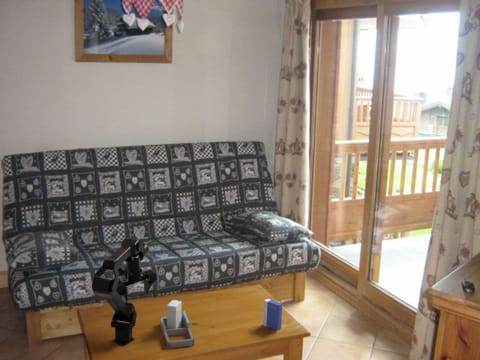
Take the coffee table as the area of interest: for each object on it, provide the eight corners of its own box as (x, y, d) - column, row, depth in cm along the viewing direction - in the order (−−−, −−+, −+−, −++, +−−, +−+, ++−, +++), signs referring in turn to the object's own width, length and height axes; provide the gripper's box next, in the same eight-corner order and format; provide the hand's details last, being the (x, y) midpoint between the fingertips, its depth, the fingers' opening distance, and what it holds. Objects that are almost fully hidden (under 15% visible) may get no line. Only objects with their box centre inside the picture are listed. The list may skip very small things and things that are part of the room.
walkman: (281, 328, 252) (282, 302, 249) (277, 330, 249) (279, 304, 247) (265, 322, 256) (267, 297, 253) (262, 325, 254) (263, 299, 251)
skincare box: (172, 325, 251) (172, 299, 248) (181, 326, 249) (182, 301, 247) (166, 331, 245) (166, 305, 242) (175, 333, 244) (176, 306, 241)
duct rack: (194, 345, 235) (194, 334, 234) (167, 348, 232) (167, 336, 231) (184, 321, 254) (184, 311, 253) (160, 324, 251) (160, 313, 250)
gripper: (143, 252, 250) (145, 283, 256) (103, 265, 240) (106, 298, 245) (157, 262, 242) (159, 294, 248) (116, 277, 231) (119, 310, 237)
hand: (136, 299), depth 245 cm, fingers open, 9 cm apart
